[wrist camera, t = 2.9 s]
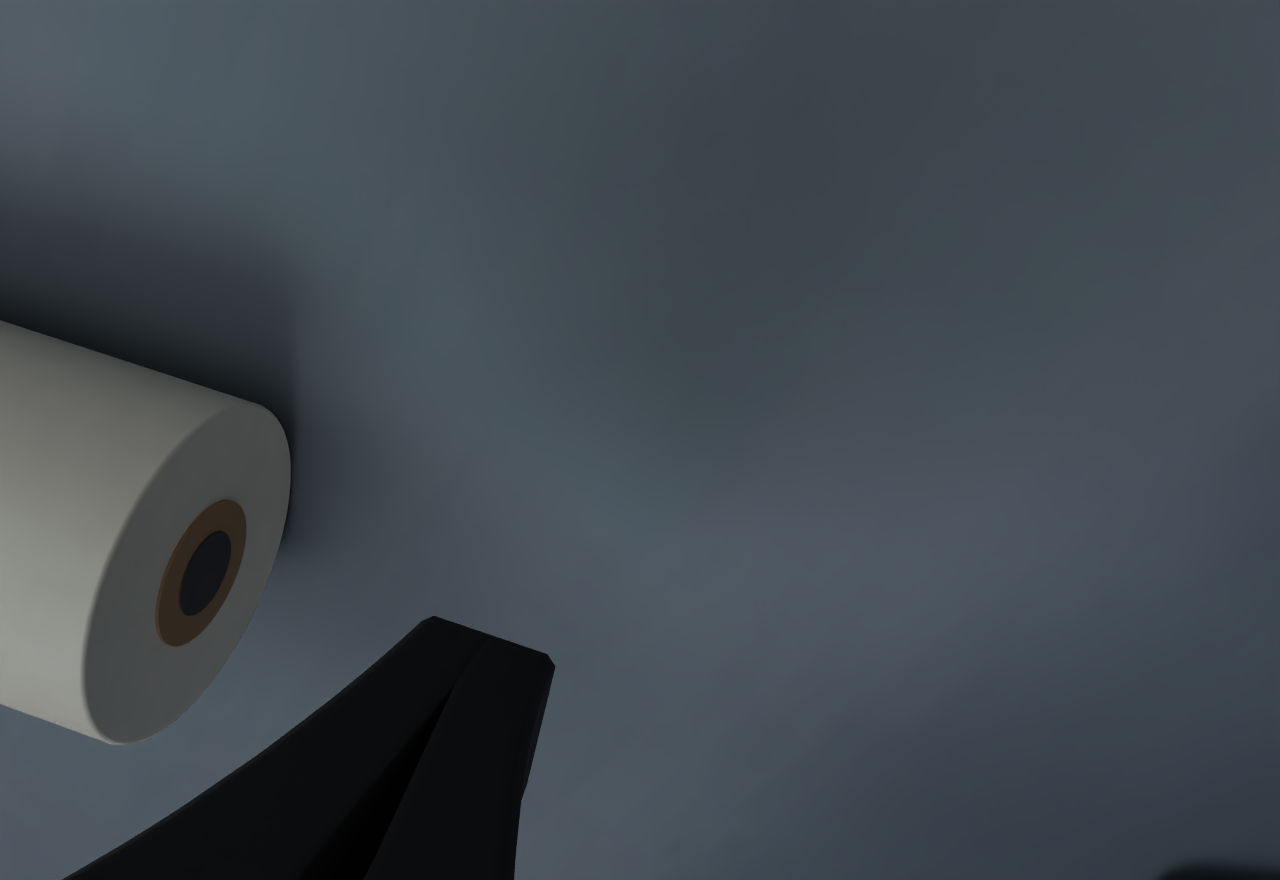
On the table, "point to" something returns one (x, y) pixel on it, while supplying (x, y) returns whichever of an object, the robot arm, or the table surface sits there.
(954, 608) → the table surface
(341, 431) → the table surface
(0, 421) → the paper roll
